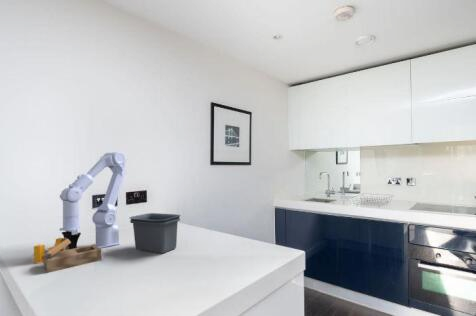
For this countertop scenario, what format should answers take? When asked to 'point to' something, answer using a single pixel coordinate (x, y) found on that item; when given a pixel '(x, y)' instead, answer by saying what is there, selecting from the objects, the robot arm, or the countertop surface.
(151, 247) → the storage bin
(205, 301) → the countertop surface
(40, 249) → the pipe clamp
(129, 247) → the countertop surface
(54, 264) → the wooden box
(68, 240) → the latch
